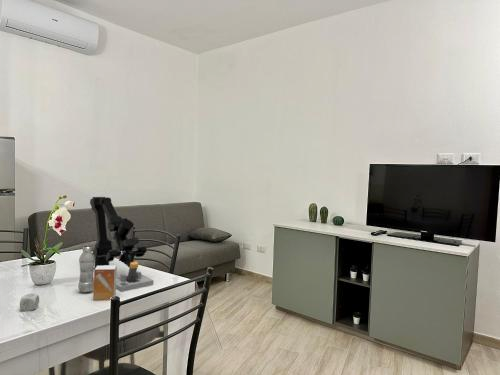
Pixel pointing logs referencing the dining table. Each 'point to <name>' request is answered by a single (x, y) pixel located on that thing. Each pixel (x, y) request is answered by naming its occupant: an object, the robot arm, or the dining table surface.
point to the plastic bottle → (86, 270)
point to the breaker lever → (132, 272)
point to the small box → (104, 282)
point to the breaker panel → (139, 282)
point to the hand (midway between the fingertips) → (132, 268)
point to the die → (29, 302)
